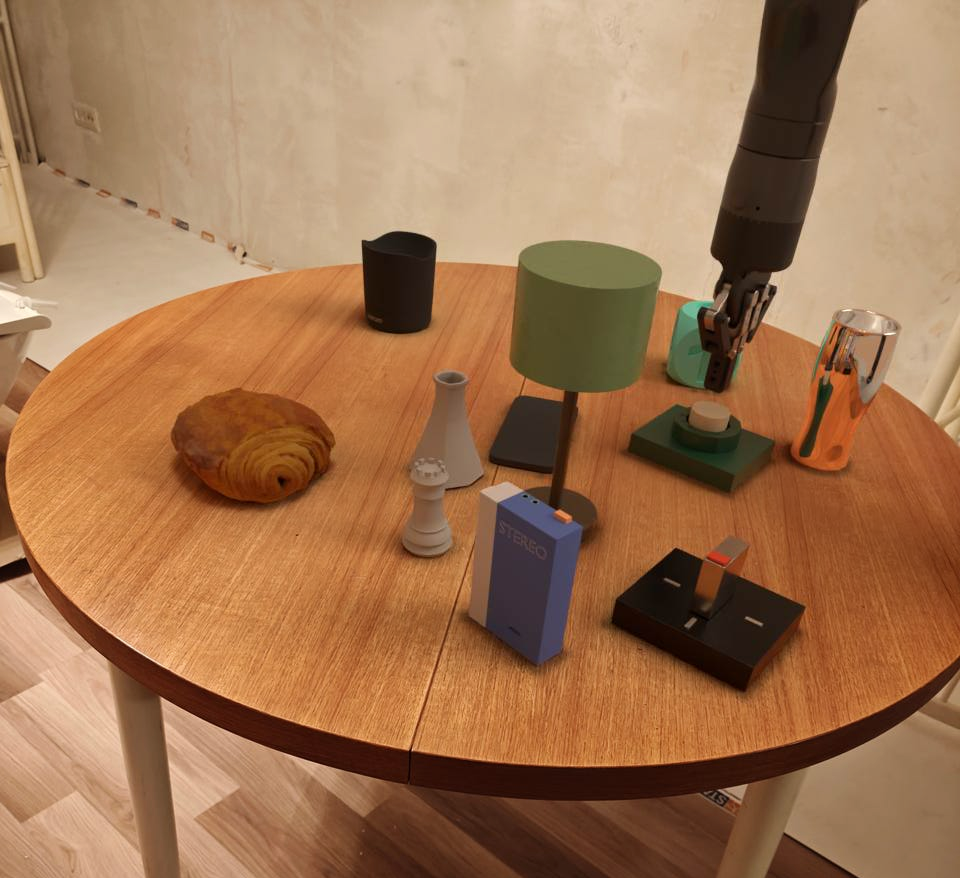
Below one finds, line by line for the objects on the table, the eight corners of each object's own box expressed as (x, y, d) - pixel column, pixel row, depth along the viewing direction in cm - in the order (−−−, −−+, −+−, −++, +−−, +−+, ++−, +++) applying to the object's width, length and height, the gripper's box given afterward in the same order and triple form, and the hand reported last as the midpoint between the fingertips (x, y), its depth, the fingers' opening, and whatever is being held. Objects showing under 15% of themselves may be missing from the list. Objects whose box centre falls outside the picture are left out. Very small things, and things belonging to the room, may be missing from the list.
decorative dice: (665, 384, 108) (680, 319, 103) (666, 359, 114) (680, 296, 109) (731, 394, 107) (749, 329, 102) (729, 367, 113) (745, 305, 108)
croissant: (217, 541, 80) (208, 470, 74) (157, 444, 88) (144, 374, 82) (359, 498, 87) (361, 430, 81) (291, 412, 94) (289, 344, 89)
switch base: (770, 459, 95) (781, 425, 93) (729, 493, 89) (739, 458, 86) (672, 421, 100) (680, 388, 98) (627, 451, 94) (634, 417, 92)
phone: (486, 455, 90) (516, 393, 101) (485, 463, 90) (515, 400, 101) (557, 468, 89) (580, 404, 100) (556, 476, 89) (579, 411, 100)
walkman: (561, 651, 69) (584, 521, 61) (537, 666, 67) (557, 535, 59) (492, 602, 73) (505, 474, 65) (467, 615, 71) (478, 486, 64)
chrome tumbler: (773, 452, 96) (817, 316, 87) (808, 435, 100) (853, 302, 90) (829, 480, 93) (881, 340, 83) (863, 461, 96) (917, 325, 87)
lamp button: (732, 425, 93) (737, 409, 92) (715, 437, 90) (719, 422, 89) (699, 412, 94) (702, 397, 93) (681, 424, 92) (684, 408, 91)
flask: (395, 466, 88) (396, 371, 82) (451, 447, 92) (456, 354, 86) (439, 498, 84) (444, 401, 78) (497, 477, 88) (505, 382, 82)
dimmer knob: (714, 585, 73) (730, 531, 69) (734, 594, 72) (751, 541, 68) (688, 610, 70) (704, 555, 66) (708, 620, 69) (725, 565, 66)
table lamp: (632, 521, 84) (688, 266, 68) (568, 571, 77) (613, 300, 62) (538, 479, 89) (570, 231, 73) (470, 522, 82) (489, 259, 66)
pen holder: (360, 307, 120) (358, 229, 113) (428, 308, 121) (431, 231, 115) (365, 335, 113) (364, 254, 106) (438, 335, 115) (442, 255, 108)
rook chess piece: (394, 552, 77) (394, 472, 72) (412, 526, 81) (414, 447, 75) (442, 564, 76) (446, 483, 71) (458, 537, 80) (463, 458, 75)
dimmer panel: (796, 630, 73) (807, 604, 71) (744, 692, 67) (754, 666, 65) (669, 570, 78) (676, 545, 76) (610, 623, 72) (615, 597, 70)
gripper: (772, 230, 73) (719, 422, 84) (831, 203, 81) (776, 381, 92) (691, 208, 76) (651, 396, 87) (756, 184, 84) (712, 359, 96)
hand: (715, 388), depth 90 cm, fingers closed
